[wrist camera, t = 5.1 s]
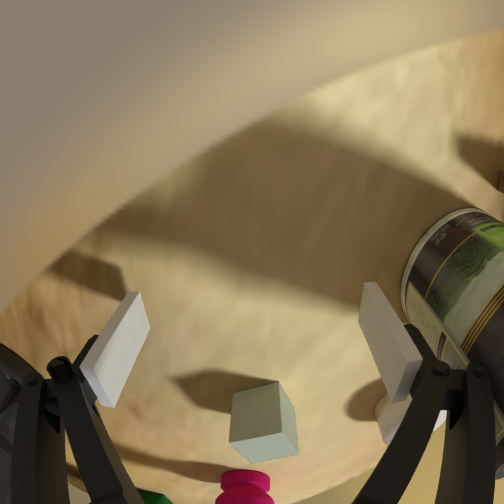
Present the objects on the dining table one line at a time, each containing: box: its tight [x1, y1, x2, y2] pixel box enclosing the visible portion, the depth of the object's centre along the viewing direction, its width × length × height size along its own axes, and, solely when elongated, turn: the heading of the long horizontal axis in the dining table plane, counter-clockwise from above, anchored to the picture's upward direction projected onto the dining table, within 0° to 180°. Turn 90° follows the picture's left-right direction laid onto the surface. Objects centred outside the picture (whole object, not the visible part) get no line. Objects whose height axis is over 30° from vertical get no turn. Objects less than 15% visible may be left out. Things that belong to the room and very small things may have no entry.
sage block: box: [229, 381, 299, 463], centre depth 21 cm, size 4×4×5 cm
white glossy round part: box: [375, 392, 447, 445], centre depth 22 cm, size 7×7×4 cm
